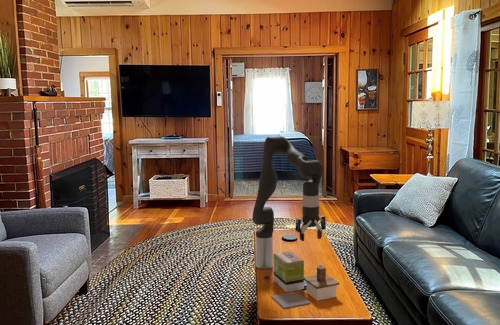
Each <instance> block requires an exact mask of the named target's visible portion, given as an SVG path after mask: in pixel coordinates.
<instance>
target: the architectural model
mask: <svg viewBox="0 0 500 325" xmlns="http://www.w3.org/2000/svg"><path fill="white" fill-rule="evenodd" d="M321 266H323V267H324V265H323V264H322V263H320V264H318V267H321ZM313 272H315V275H317V269H313Z"/></svg>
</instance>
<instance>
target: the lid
mask: <svg viewBox="0 0 500 325" xmlns="http://www.w3.org/2000/svg"><path fill="white" fill-rule="evenodd" d="M326 268H327V267H324V265H323V266H321V267H319V266H317V267H316V270H317V274H315V275H312V276H304V282H306V283H307V282H308V283H309V284H310V285H312V286H313V287H315V288H316V289H320V288H325V287H330V286H336V287H337V286H339V285H340V282H339V281H337V280H336V279H334V278H333V277H331V276H329V275H328V274H327V271H326V270H327V269H326Z"/></svg>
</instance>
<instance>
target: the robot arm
mask: <svg viewBox="0 0 500 325" xmlns="http://www.w3.org/2000/svg"><path fill="white" fill-rule="evenodd" d="M262 155H263V156H262V166H261V171H260V176H259V182H258V189H257V194H256V195H257V196H256V199H255V202H254V205H253V206H254V207H253V211H252V221H253V223H254V224H255V225H256V226H261V225H262V226H261V227H260V228H259V229H257V230H256V231H255V266H256V267H255V268H258V269H259V270H261V269H262V270H268V269H272V268H274V259H273V254H274V252H273V251H274V247H273V245H274V241H273V240H274V238H273V237H274V236H273V234H274V226H275V225H274V224H275V222H274V221H275V214H274V212H275V211H274V210H273V208H272V206H265V205H266V203H267V202H268V200H269V199H270V198H271V196H273V194H274V193H275V191H276V190H277V186H278V185H277V184H278V174H277V172H276V169H275V167H274V165H273V157H274V156H276V155H286V159H287V161H288V162H289V163H290V165H292V166H293V167H294V168H296V170H297V171H298V173H299V175H300V176H302V177H305V178H307V177H308V178H309V177H310V179H309V180H307V181H305V182H304V183H303V184H302V199H301V201H302V203H301V204H302V206H301V207H302V208H301V211H302V218H298V217H297V218H295V228H294V230H295V232H297V233H299V240H300V241H301V242H304V241H305V232H306V230H307V229H308V228H316V229H317V231H316V233H317V234H316V237H317V239H318V240H321V239H322V237H323V236H322V235H323V230H326V229H327V224H326V222H327V221H326V217H325V215H320V196H319V194H320V190H319V188H320V183H321V178H322V175H323V172H324V171H323V170H324V168H323V164H322V162H321V161H320V160H315V159H313V160H309V157H308V156H306V155H305V154H304V153H302V152H301V151H299V150H297V149H296V148H295V147H294V145H293V144H292V143H291V142H290V141H289V140H288V139H287V138H286V137H285V136H282V135H278V136H277V135H274V136H267V137H266V138H265V140H264V144H263V154H262ZM319 215H320V216H319ZM319 221H320V222H319ZM319 223H320V224H319Z"/></svg>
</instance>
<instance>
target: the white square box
mask: <svg viewBox="0 0 500 325" xmlns="http://www.w3.org/2000/svg"><path fill="white" fill-rule="evenodd" d="M306 293H307V294H308V295H309V296H310V297H312V298H314V300H316V301H323V300H326V299H332V298H337V285H336V286H330V287H325V288H320V289H316V288H315V287H313V286H312V285H310V284H309V283H308V282H306Z"/></svg>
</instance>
